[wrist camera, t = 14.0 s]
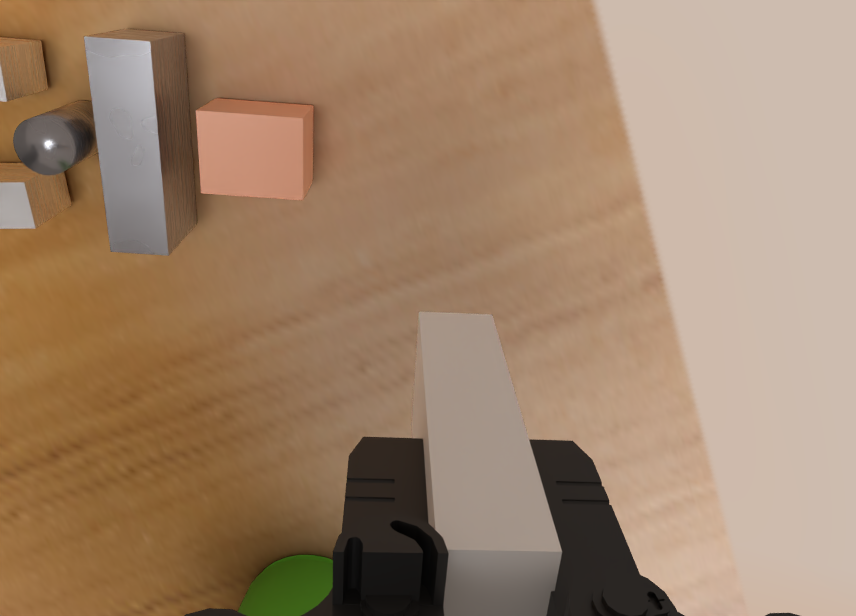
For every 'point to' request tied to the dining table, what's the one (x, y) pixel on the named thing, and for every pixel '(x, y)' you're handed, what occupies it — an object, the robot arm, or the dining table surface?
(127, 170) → the tongs base
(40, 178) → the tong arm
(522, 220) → the dining table surface
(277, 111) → the tab
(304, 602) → the cup
